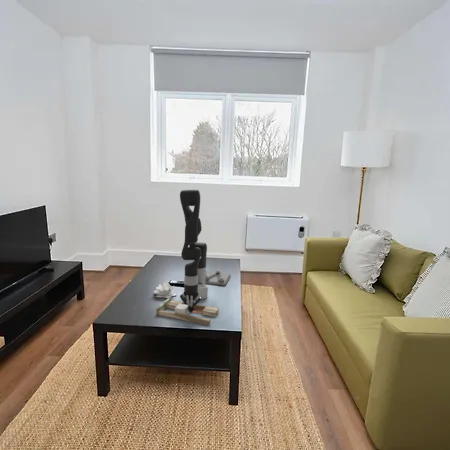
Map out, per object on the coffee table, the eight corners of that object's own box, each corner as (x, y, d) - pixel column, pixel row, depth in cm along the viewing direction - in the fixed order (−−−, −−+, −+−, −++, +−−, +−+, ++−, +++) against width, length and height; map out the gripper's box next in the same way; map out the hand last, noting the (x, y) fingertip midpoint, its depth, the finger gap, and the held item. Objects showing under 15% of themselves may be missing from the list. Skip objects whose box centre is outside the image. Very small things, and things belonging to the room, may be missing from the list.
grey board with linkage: (230, 276, 241) (231, 267, 240) (225, 287, 221) (225, 277, 219) (193, 272, 247) (193, 263, 246) (184, 282, 227) (184, 272, 225)
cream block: (179, 311, 181) (179, 303, 180) (189, 313, 180) (189, 305, 179) (174, 316, 176) (174, 308, 175) (184, 318, 174) (184, 309, 173)
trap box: (169, 303, 191) (169, 297, 191) (218, 312, 182) (218, 305, 182) (156, 314, 177) (156, 308, 176) (209, 324, 168) (209, 317, 167)
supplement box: (184, 297, 201) (203, 293, 207) (189, 301, 195) (207, 298, 201) (185, 286, 200) (203, 283, 206) (189, 290, 193) (208, 287, 199)
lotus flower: (181, 295, 204) (181, 282, 202) (163, 302, 192) (163, 289, 191) (167, 289, 213) (167, 277, 211) (148, 295, 201) (148, 283, 200)
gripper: (204, 281, 175) (204, 310, 178) (182, 278, 178) (182, 307, 182) (199, 286, 168) (199, 316, 171) (177, 283, 171) (177, 312, 175)
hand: (190, 311), depth 176 cm, fingers closed
